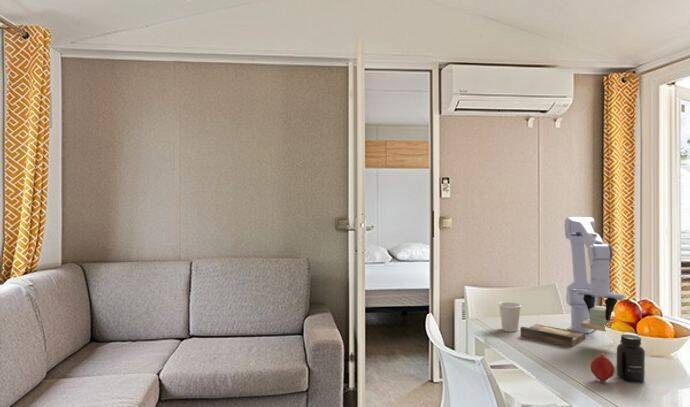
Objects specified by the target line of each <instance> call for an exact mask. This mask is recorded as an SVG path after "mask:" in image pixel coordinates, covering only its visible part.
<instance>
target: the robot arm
mask: <svg viewBox="0 0 690 407" xmlns="http://www.w3.org/2000/svg"><path fill="white" fill-rule="evenodd" d="M595 229H596V221H595V219H594V218H593V217H592V216H590V217H589V216H585V217H583V216H582V217H581V216H579V217H578V216H574V217H573V216H571V217H570V216H566V217H565V220H564V236H565V239H567V240H569V241H570V247H571V261H572V272H573V282H570V283H569V284H568V285H567V287H566V296H565V297H566V299H565V300H566V303H567V305H568V306H569V307H570V326H569V327H567V329H566V330H570V331H576V332H581V333H585V334H591V333H592V332H594V331H595V330H594V329H589V328H583V327H582V322H584V321H586V320H588V319H590V309H591V308H593V307H595V306H597V304H598V298H601V299H604V303H605V307H606V320H608V321H609V320H610V321H611V316H612V313H613V310H614V308H615V306H616V305H617V302H618V301H621V302H624V301H625V299H626V298H625V296H626V295H625V294H623V293H617V292H613V291H611V290H610V288H611V287H610V282H611V280H610V278H611V277H610V268H611V266H610V265H611V264H610V262H611V261H612V259H613V248H612V246H611V244H610V243H605V241H604V240H603V238H602V237H601V235H600V234H598V232H595ZM585 247H586V249H587V255H588V256H587V257H588V264H589V265H590V282H589V281H588V276H587V275H588V274H587V273H588V272H587V261H586V249H585ZM623 300H624V301H623Z"/></svg>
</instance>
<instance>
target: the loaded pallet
mask: <svg viewBox="0 0 690 407" xmlns="http://www.w3.org/2000/svg"><path fill="white" fill-rule="evenodd" d="M610 321H611V319H610V320H609V321H608V320H606V306H602V305H595V307H593V308H591V309H590V319H588V320H586V321H584V322H582V327H583V328H589V329H594V331H600V332H606V330H605V326H604V325H606V324H607V323H609V322H610ZM607 327H610V325H608V326H607ZM606 333H607V332H606Z"/></svg>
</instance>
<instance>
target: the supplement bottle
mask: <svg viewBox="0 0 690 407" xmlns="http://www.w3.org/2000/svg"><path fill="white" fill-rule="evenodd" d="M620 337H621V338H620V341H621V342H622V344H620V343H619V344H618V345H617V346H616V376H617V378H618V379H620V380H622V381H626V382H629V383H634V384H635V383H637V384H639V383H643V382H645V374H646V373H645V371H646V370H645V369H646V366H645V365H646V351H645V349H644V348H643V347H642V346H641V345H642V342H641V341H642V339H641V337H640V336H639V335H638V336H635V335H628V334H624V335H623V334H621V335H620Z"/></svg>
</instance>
